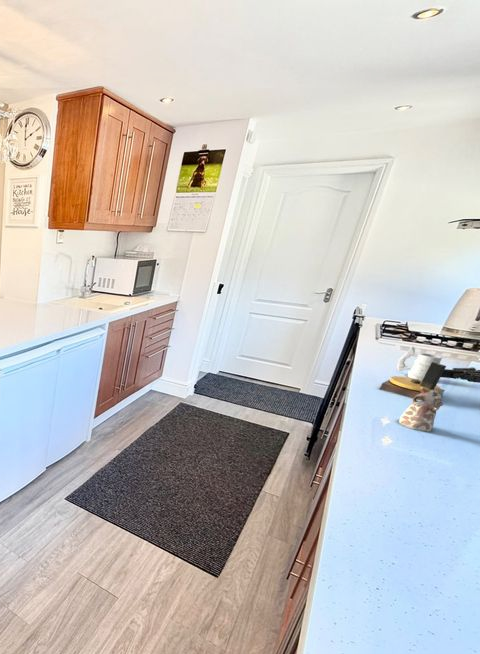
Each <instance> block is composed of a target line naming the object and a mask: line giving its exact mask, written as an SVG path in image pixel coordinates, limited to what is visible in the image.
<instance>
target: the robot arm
mask: <svg viewBox="0 0 480 654" xmlns="http://www.w3.org/2000/svg"><path fill="white" fill-rule="evenodd" d="M440 378H444V379H454V380H459V379H460V380H463V381H467V382H469V383H477V384H480V369H477V368H476V367H472V366H471V367H453V368H452V369H449V368H445V370H444V371H443V373H442V375H441V377H440Z"/></svg>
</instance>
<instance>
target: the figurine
mask: <svg viewBox="0 0 480 654" xmlns="http://www.w3.org/2000/svg"><path fill="white" fill-rule="evenodd" d="M420 392H421V394H418V395H416V396H415V397H414V398H412V403H411V404H410V405H409V406H408V407H407V408H406V409H405V410H404V412H403V413H402V414H401V416H400V417H399V421H398V422H399V424H400V425H402V426H404V427H406V428H409V429H412V430H416V431H421V432H427V433H428V432H431V431H432V429H433V427H434V424H435V419H436V415H437V412H438V411H439V410H440V408H441V407H442V406H444V403H443V402H442V399H443V397H442V396H440V395H439V393H438V392H437V391H434V390H431V391H429V392H427V391H426V390H425V388H420ZM419 397H421V398H422V400H418V399H417V398H419Z"/></svg>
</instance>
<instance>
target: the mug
mask: <svg viewBox="0 0 480 654" xmlns="http://www.w3.org/2000/svg"><path fill="white" fill-rule="evenodd" d="M410 357H415V358H416V359H414V361H413V362H414V363H413V364H412V365H406V363H405V362H406V360H407V359H408V358H410ZM442 359H443V357H442V356H440V355H436V354H432V353H424V352H421V353H416V349H415V347H414V346H410V348H409V349H408V351H407V352H406V353H405V354H403V355H402V356H401V357H400V358H398V362H397V364H396V368H397V371H398V372H401V371H404V370H407V377H408V378H413V379H418V380H423V378H424V376H425V374H426V372H427V371H428V369H429V367H430V365H431V363H432V362H436V363H439V364H441V361H442Z"/></svg>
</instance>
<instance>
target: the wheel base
mask: <svg viewBox="0 0 480 654" xmlns="http://www.w3.org/2000/svg"><path fill="white" fill-rule="evenodd" d="M379 390H380V391H385V392H388V393H392V394H396V395H399V396H402V397H403V396H404V397H407V398H410V399H413V398H414V397H415V396H416V395H418V394H421V392H420V391H416V390H412V389H408V388H404V387H401V386H398V385H396V384H393V383H392V382H390V379H388V380H386V381H384V382H382V383H381V385H380V387H379ZM445 392H446V389H443V388H441V389H440V391H439V392H438V393H439V395H440V396H441V397H443V395H444V393H445ZM416 400H417V401H422V398H421V397H419V398H417V399H416Z"/></svg>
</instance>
